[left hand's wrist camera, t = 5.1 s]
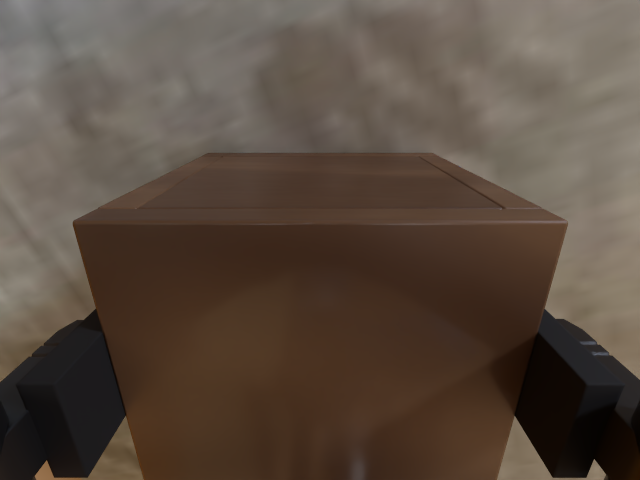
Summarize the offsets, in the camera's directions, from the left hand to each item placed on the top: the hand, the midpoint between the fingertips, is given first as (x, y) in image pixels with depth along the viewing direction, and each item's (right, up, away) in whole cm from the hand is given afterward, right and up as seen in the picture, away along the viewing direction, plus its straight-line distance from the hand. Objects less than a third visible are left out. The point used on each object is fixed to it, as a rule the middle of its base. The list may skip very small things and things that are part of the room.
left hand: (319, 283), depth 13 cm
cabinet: (0, -2, +6) cm, 6 cm away
